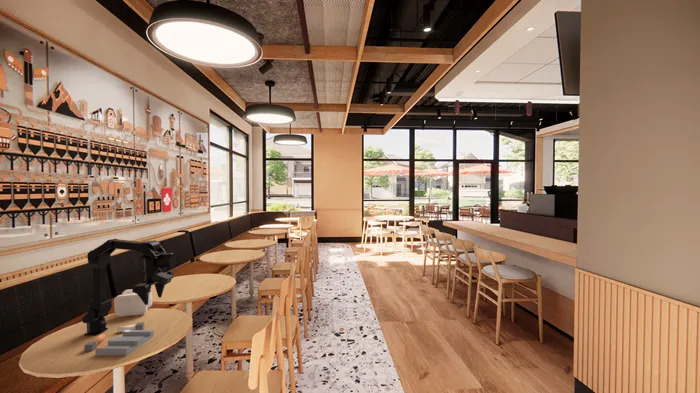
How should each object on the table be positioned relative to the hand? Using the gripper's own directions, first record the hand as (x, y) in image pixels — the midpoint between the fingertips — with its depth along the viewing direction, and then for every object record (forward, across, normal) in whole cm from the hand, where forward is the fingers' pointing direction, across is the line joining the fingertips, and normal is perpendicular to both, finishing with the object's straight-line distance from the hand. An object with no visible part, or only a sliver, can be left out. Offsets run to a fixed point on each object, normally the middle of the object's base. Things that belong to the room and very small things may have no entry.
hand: (153, 301), depth 143 cm
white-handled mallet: (+15, +1, +13) cm, 20 cm away
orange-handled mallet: (+15, -11, +18) cm, 26 cm away
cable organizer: (+15, +22, +26) cm, 37 cm away
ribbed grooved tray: (+15, -12, +4) cm, 19 cm away
